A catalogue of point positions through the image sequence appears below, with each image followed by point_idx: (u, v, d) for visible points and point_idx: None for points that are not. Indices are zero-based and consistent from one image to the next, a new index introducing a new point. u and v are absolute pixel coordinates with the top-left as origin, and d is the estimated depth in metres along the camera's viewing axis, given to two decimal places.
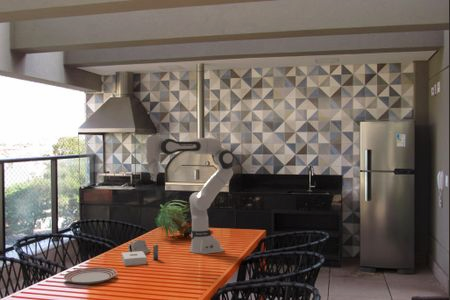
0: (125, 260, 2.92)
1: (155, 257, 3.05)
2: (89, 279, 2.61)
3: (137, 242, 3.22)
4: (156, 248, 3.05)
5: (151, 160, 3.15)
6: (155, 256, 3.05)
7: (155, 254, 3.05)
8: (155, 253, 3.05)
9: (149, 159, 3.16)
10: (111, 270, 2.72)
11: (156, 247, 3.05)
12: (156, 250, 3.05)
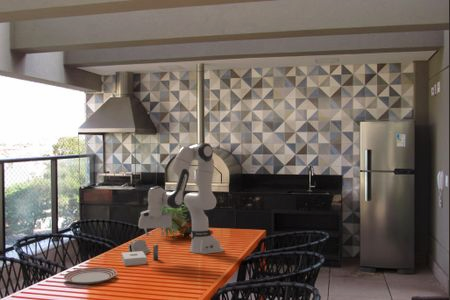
0: (125, 260, 2.92)
1: (155, 257, 3.05)
2: (89, 279, 2.61)
3: (137, 242, 3.22)
4: (156, 248, 3.05)
5: (162, 213, 3.06)
6: (155, 256, 3.05)
7: (155, 254, 3.05)
8: (155, 253, 3.05)
9: (161, 213, 3.04)
10: (111, 270, 2.72)
11: (156, 247, 3.05)
12: (156, 250, 3.05)
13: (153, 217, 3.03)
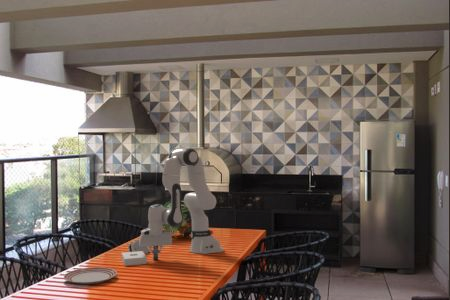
0: (125, 260, 2.92)
1: (155, 257, 3.05)
2: (89, 279, 2.61)
3: (137, 242, 3.22)
4: (156, 248, 3.05)
5: (162, 231, 3.06)
6: (155, 256, 3.05)
7: (155, 254, 3.05)
8: (155, 253, 3.05)
9: (161, 231, 3.05)
10: (111, 270, 2.72)
11: (156, 247, 3.05)
12: (156, 250, 3.05)
13: (153, 235, 3.03)
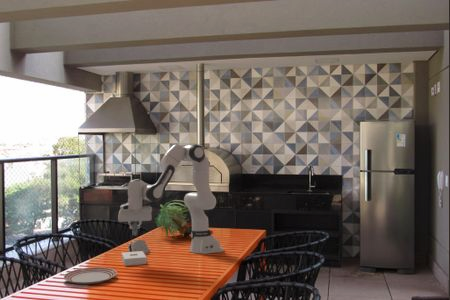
0: (125, 260, 2.92)
1: (134, 232, 3.01)
2: (89, 279, 2.61)
3: (137, 242, 3.22)
4: (135, 223, 3.01)
5: (142, 207, 3.02)
6: (134, 231, 3.01)
7: (134, 229, 3.01)
8: (134, 228, 3.01)
9: (141, 206, 3.01)
10: (111, 270, 2.72)
11: (135, 222, 3.01)
12: (135, 225, 3.01)
13: (133, 210, 2.99)
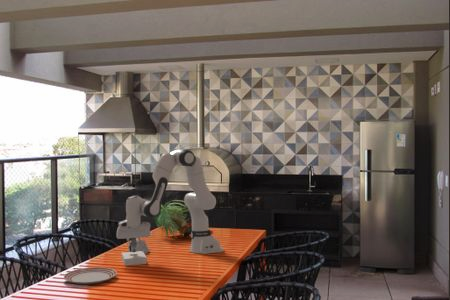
0: (125, 260, 2.92)
1: (133, 249, 3.01)
2: (89, 279, 2.61)
3: None
4: (134, 240, 3.01)
5: (140, 223, 3.02)
6: (133, 248, 3.01)
7: (133, 246, 3.01)
8: (133, 245, 3.01)
9: (139, 222, 3.01)
10: (111, 270, 2.72)
11: (134, 239, 3.01)
12: (134, 242, 3.01)
13: (131, 227, 2.99)
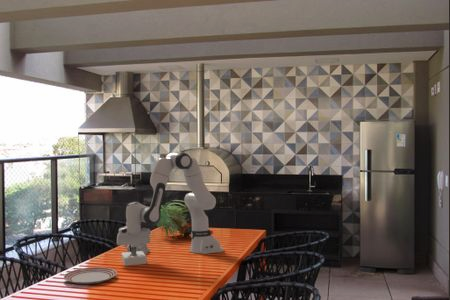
0: (125, 260, 2.92)
1: None
2: (89, 279, 2.61)
3: None
4: (134, 250, 3.01)
5: (140, 229, 3.02)
6: None
7: None
8: (133, 255, 3.01)
9: (139, 229, 3.01)
10: (111, 270, 2.72)
11: (134, 249, 3.01)
12: (134, 252, 3.01)
13: (131, 233, 2.99)
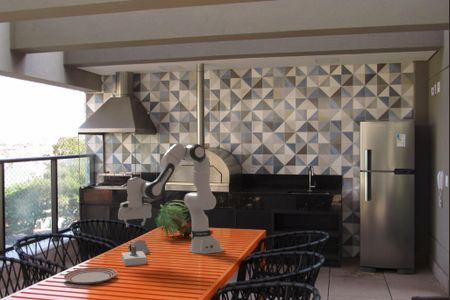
0: (125, 260, 2.92)
1: None
2: (89, 279, 2.61)
3: (137, 242, 3.22)
4: (134, 250, 3.01)
5: (141, 204, 3.03)
6: None
7: None
8: (133, 255, 3.01)
9: (140, 203, 3.02)
10: (111, 270, 2.72)
11: (134, 249, 3.01)
12: (134, 252, 3.01)
13: (132, 208, 3.01)
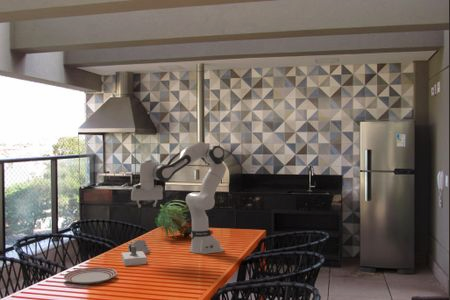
0: (125, 260, 2.92)
1: None
2: (89, 279, 2.61)
3: (137, 242, 3.22)
4: (134, 250, 3.01)
5: (153, 186, 3.18)
6: None
7: None
8: (133, 255, 3.01)
9: (152, 185, 3.17)
10: (111, 270, 2.72)
11: (134, 249, 3.01)
12: (134, 252, 3.01)
13: (145, 189, 3.16)
